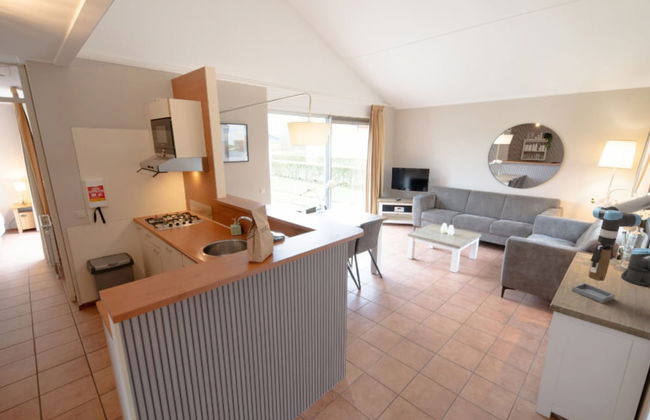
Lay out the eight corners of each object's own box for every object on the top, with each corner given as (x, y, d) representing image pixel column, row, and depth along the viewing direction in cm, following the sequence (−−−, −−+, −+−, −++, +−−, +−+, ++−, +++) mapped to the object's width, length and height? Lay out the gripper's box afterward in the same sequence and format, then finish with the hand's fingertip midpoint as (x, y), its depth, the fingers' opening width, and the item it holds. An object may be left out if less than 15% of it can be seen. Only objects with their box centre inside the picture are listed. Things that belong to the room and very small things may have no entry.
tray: (583, 286, 192) (584, 282, 192) (613, 298, 179) (614, 294, 178) (571, 290, 188) (572, 286, 187) (602, 303, 174) (603, 299, 173)
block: (602, 282, 174) (611, 251, 169) (586, 278, 180) (594, 247, 175) (606, 277, 181) (614, 247, 175) (590, 273, 186) (598, 243, 181)
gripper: (610, 231, 181) (601, 264, 187) (588, 237, 172) (580, 271, 178) (626, 235, 174) (616, 269, 180) (604, 241, 165) (595, 276, 171)
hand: (598, 270), depth 179 cm, fingers closed on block, 11 cm apart
